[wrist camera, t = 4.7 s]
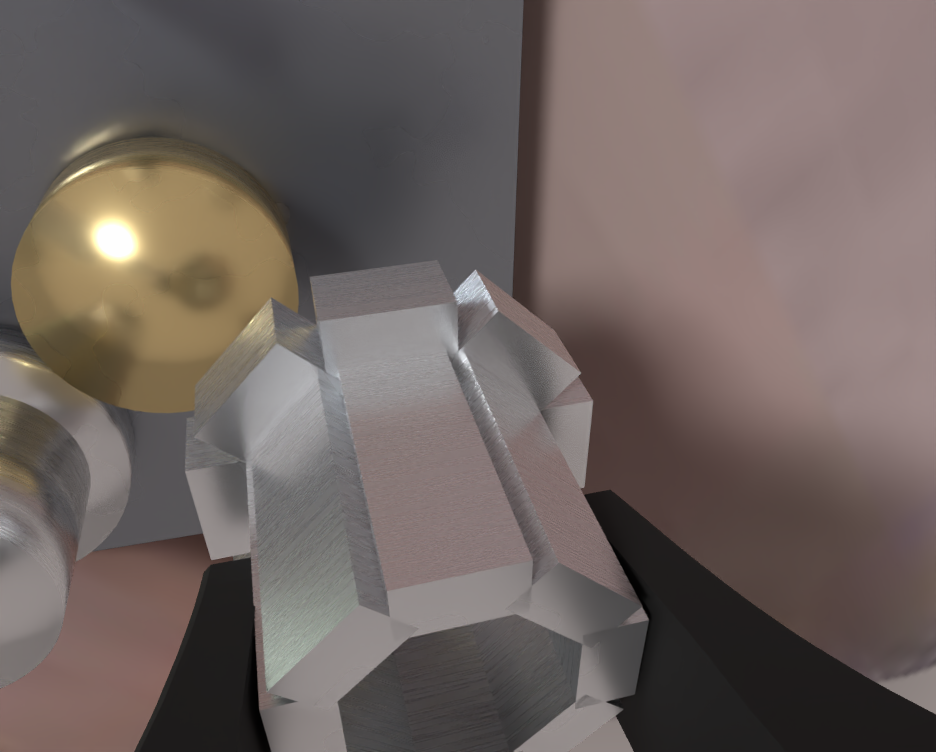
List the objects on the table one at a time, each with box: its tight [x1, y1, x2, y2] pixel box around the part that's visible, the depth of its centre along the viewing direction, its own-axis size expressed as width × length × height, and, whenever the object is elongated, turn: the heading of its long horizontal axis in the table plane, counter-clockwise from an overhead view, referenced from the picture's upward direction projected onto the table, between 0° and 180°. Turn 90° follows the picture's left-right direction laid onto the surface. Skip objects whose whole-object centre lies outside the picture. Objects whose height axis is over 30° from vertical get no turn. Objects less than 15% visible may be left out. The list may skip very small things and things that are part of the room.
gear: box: [185, 260, 649, 752], centre depth 11 cm, size 6×6×5 cm
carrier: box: [0, 0, 524, 551], centre depth 16 cm, size 15×15×4 cm
